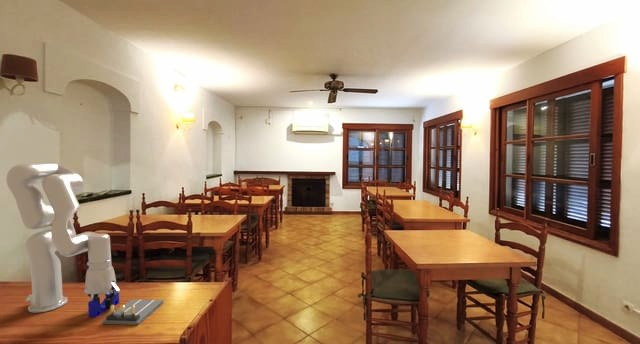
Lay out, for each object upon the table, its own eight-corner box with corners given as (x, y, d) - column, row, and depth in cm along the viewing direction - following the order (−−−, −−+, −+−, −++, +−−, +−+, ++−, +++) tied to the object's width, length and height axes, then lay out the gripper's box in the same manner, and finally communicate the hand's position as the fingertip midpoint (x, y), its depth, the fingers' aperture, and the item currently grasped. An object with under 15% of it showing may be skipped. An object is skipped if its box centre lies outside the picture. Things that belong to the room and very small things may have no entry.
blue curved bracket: (109, 302, 137) (109, 288, 136) (119, 303, 136) (118, 289, 136) (85, 316, 125) (84, 302, 125) (95, 317, 124) (94, 302, 124)
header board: (102, 323, 120) (102, 320, 120) (132, 302, 137) (131, 299, 137) (138, 324, 119) (138, 321, 119) (163, 303, 136) (163, 300, 136)
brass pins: (106, 320, 120) (105, 306, 120) (109, 317, 122) (109, 304, 122) (136, 320, 120) (136, 307, 119) (139, 318, 122) (139, 305, 121)
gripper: (72, 267, 126) (75, 312, 127) (113, 268, 125) (116, 313, 126) (87, 261, 133) (90, 303, 135) (126, 261, 132) (128, 304, 134)
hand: (102, 307), depth 130 cm, fingers closed on blue curved bracket, 4 cm apart
